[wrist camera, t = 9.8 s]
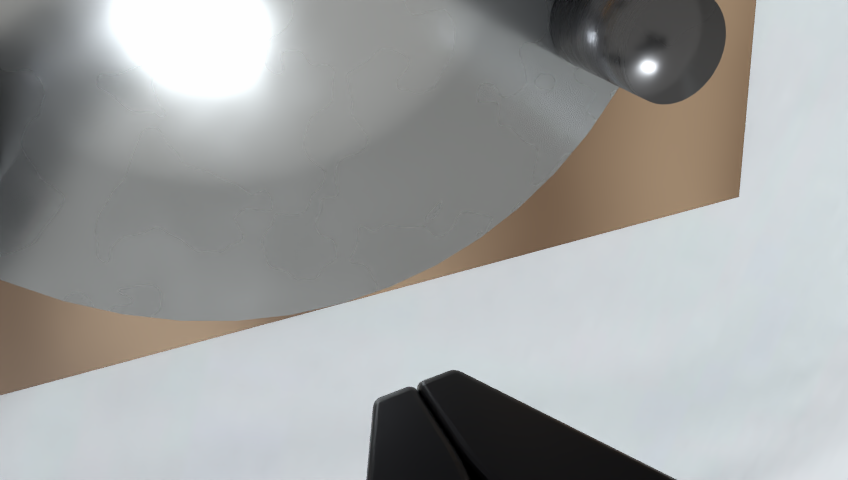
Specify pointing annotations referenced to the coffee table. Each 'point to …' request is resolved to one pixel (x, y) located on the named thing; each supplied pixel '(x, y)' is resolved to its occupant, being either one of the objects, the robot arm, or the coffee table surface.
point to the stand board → (516, 235)
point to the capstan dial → (300, 137)
